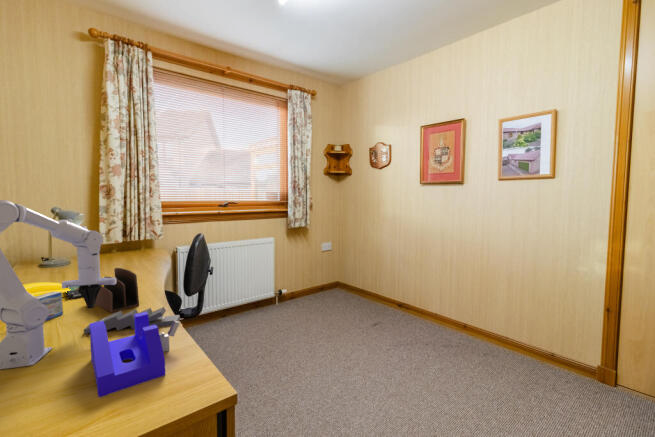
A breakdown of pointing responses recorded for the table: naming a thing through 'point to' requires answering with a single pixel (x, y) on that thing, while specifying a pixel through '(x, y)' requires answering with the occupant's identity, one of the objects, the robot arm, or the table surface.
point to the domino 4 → (153, 315)
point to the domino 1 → (106, 320)
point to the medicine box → (52, 303)
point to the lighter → (165, 337)
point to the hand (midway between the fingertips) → (91, 307)
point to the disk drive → (73, 293)
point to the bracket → (126, 356)
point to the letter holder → (119, 292)
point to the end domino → (164, 320)
